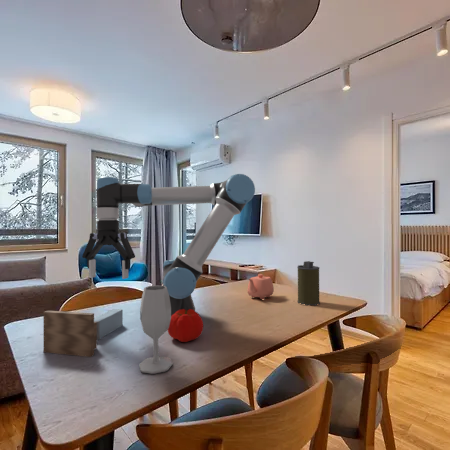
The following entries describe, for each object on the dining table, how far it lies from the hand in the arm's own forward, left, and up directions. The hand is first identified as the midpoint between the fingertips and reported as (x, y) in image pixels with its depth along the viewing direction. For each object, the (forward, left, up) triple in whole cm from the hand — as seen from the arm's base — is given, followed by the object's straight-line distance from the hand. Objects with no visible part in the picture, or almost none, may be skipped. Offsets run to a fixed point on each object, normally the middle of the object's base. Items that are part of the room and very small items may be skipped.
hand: (108, 277), depth 106 cm
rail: (-1, +2, -19) cm, 19 cm away
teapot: (-50, -58, -19) cm, 78 cm away
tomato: (-31, +3, -19) cm, 36 cm away
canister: (-74, -52, -19) cm, 92 cm away
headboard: (-1, +19, -19) cm, 26 cm away
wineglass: (-30, +23, -19) cm, 42 cm away
